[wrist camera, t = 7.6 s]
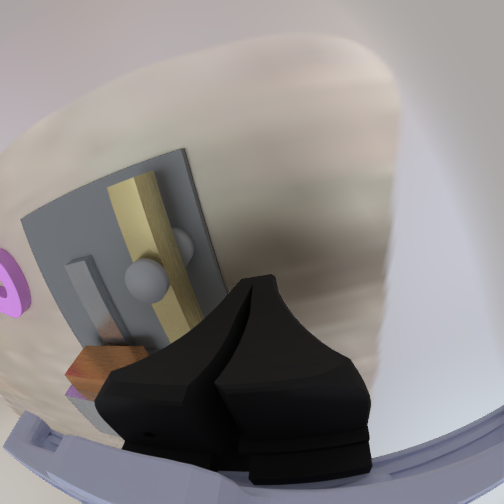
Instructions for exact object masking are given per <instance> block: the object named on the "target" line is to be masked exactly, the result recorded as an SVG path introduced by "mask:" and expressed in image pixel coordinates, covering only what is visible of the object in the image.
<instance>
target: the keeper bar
mask: <svg viewBox="0 0 504 504" xmlns="http://www.w3.org/2000/svg"><path fill="white" fill-rule="evenodd" d="M107 190H108V194H109V197H110V200H111V203H112V206H113V209H114V212H115V215H116V218H117V221H118V224H119V226H120V229H121V232H122V235H123V237H124V240H125V243H126V245H127V248H128V251H129V253H130V256H131V258H132V261H133V263H134V262H135V261H136V260H138V259H141V258H148V259H152V260H154V261H156V262H157V263H159V264H160V265H161V266H162V267H163V268H164V269H165V271H166V272H167V274H168V277H169V282H170V284H169V289H168V291H167V292H166V294H165V296H164V297H163V299H162V300H160V301H159V302H157V303H151V304H152V306H153V309H154V311H155V313H156V315H157V317H158V319H159V321H160V323H161V325H162V327H163V329H164V331H165V333H166V335H167V337H168V339H169V341H170V343H173V342H174V341H176V340H177V339H179V338H180V337H182V336H183V335H185V334H186V333H187V332H189V331H190V330H191V329H193V328H194V327H195V326H196V325H198V324H199V323H200V322H201V321H202V320H203V319H204V316H203V314H202V311H201V309H200V306H199V303H198V301H197V298H196V296H195V293H194V290H193V288H192V285H191V282H190V280H189V277H188V274H187V272H186V269H185V266H184V263H183V261H182V258H181V255H180V252H179V249H178V246H177V243H176V240H175V237H174V234H173V231H172V228H171V225H170V222H169V219H168V216H167V213H166V210H165V207H164V204H163V200H162V197H161V194H160V190H159V187H158V184H157V180H156V177H155V173H154V170H153V171H150V172H147V173H144V174H141V175H139V176H136V177H133V178H130V179H128V180H125V181H122V182H120V183H117V184H115V185H112V186H110V187H107Z"/></svg>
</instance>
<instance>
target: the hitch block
mask: <svg viewBox="0 0 504 504" xmlns="http://www.w3.org/2000/svg"><path fill="white" fill-rule="evenodd" d="M64 267H65V269H66V271H67V273H68V275H69V278H70V280H71V282H72V284H73V286H74V288H75V290H76V292H77V294H78V296H79V298H80V300H81V302H82V304H83V306H84V308H85V309H86V311H87V313H88V315H89V317H90V318H91V320H92V322H93V324H94V326H95V327H96V329H97V331H98V332H99V334H100V336H101V337H102V339H103V341H104V342H105V344H106V345H107V346H137V345H136V343H135V342H134V340H133V338H132V336H131V335H130V333H129V331H128V329H127V327H126V326H125V324H124V322H123V320H122V318H121V316H120V314H119V312H118V311H117V309H116V307H115V305H114V303H113V301H112V299H111V297H110V295H109V293H108V290H107V288H106V286H105V284H104V282H103V280H102V278H101V275H100V273H99V271H98V269H97V266H96V264H95V262H94V259H93V257H92V255H89V256H86V257H82V258H78V259H74V260H71V261H70V262H68V263H67V264H66V265H64ZM145 350H146V351H147V353H148V355H149V356H150V355H152V354H154V353H156V352H158V351H159V350H161V349H145ZM97 395H98V393H96V392H90V391H85V390H80V389H76V388H75V387H74V386H73V385H71V386H70V388H69V389H68V391H67V393H66V394H65V396H66V397H67V398H68V399H69V400H70V401H71V402H72V404H73V405H74V406H75V407H76V408H77V409H78V410H79V411H80V412H81V413H82V414H83V415H84V416H85V417H86V418H87V419H88V420H89V421H90V422H91V423H92V424H93V425H94V426H95V427H96V428H97V429H98V430H99V431H100V432H103V433H107V434H110V435H114V436H119V435H118V434H117V433H116V432H115V431H114V430H113V429H112V428H111V427H110V426H109V425H108V424H107V423H106V422H105V421H104V420H103V419H102V417H101V416H100V415H99V414H98V412H97V410H96V408H95V403H94V400H95V398H96V396H97ZM119 437H120V436H119Z"/></svg>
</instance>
